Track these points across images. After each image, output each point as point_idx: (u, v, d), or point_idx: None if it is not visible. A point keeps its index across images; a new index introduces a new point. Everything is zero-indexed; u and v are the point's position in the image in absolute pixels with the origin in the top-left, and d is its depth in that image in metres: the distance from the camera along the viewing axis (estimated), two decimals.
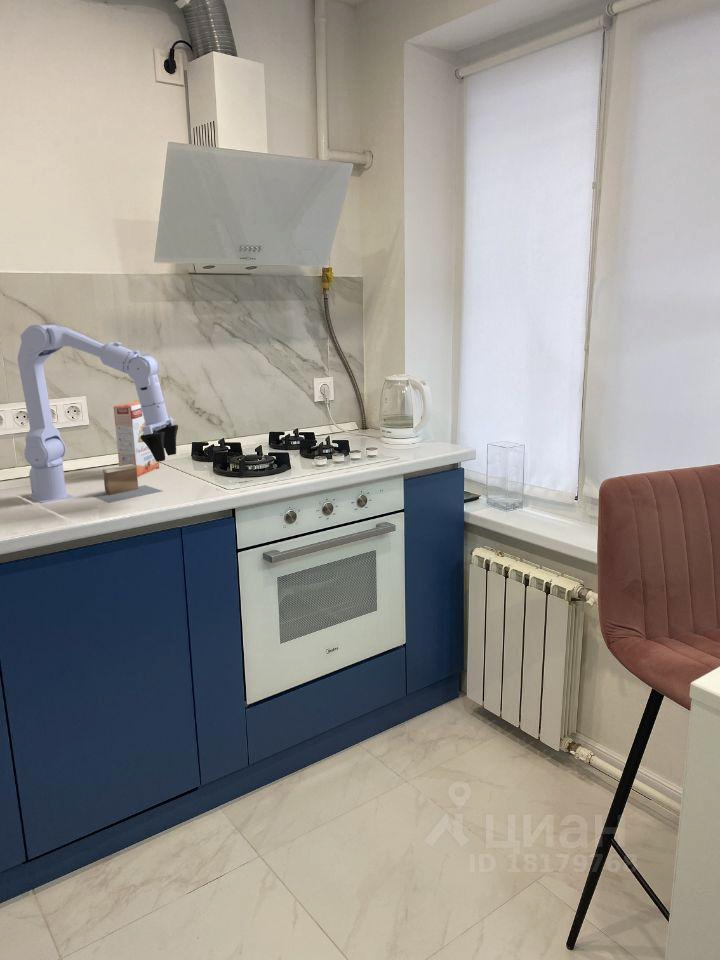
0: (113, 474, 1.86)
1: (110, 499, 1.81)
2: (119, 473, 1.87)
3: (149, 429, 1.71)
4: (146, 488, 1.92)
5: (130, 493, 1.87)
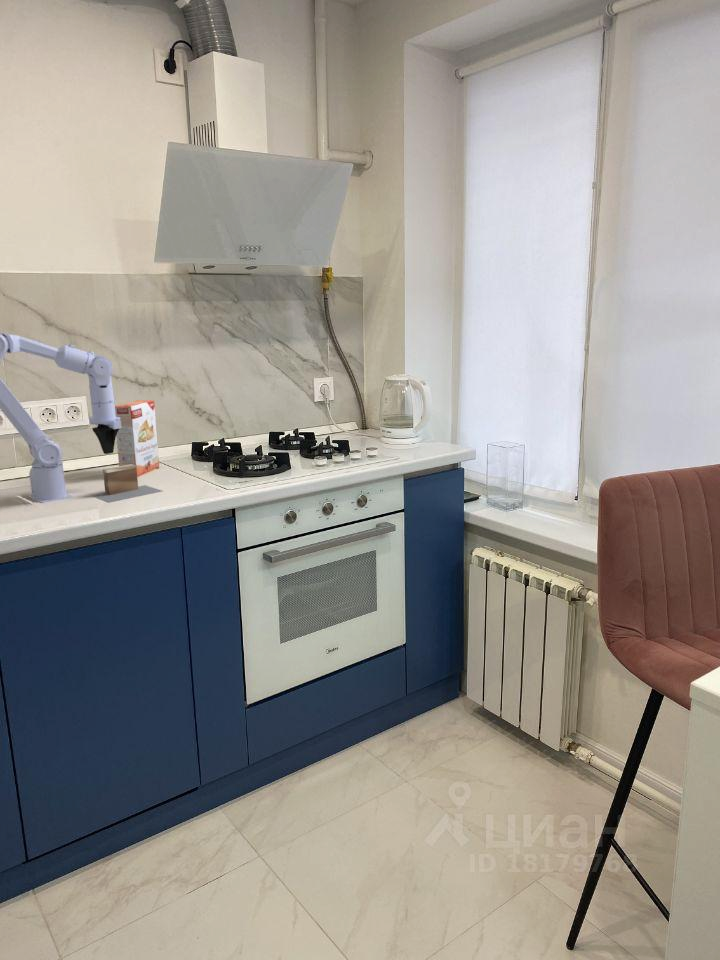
0: (113, 474, 1.86)
1: (110, 499, 1.81)
2: (119, 473, 1.87)
3: (119, 423, 1.84)
4: (146, 488, 1.92)
5: (130, 493, 1.87)
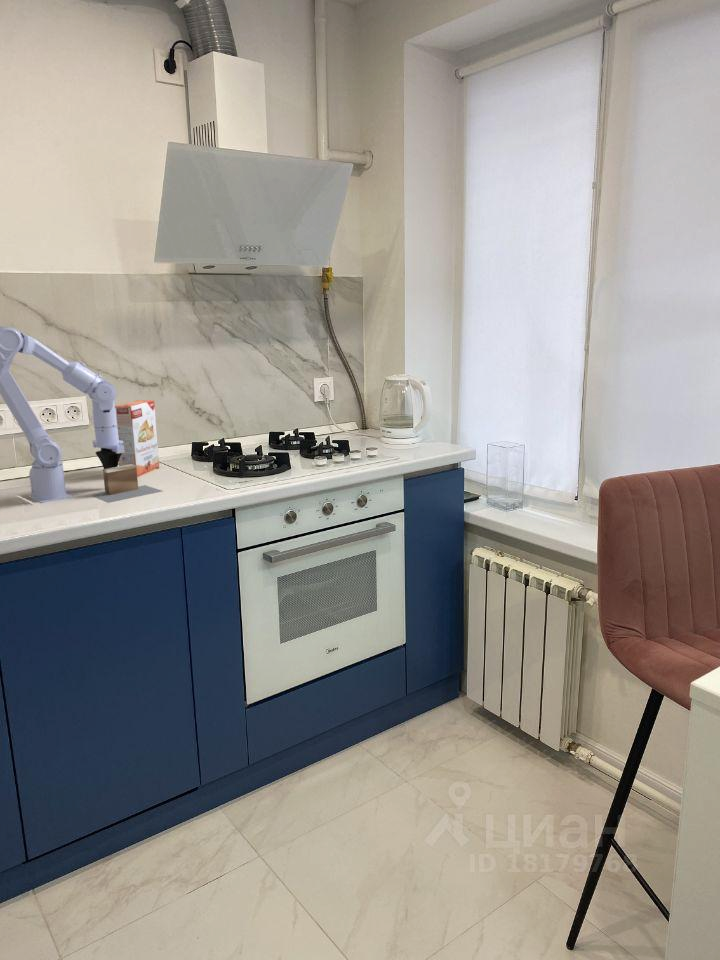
0: (113, 474, 1.86)
1: (110, 499, 1.81)
2: (119, 473, 1.87)
3: (123, 448, 1.86)
4: (146, 488, 1.92)
5: (130, 493, 1.87)
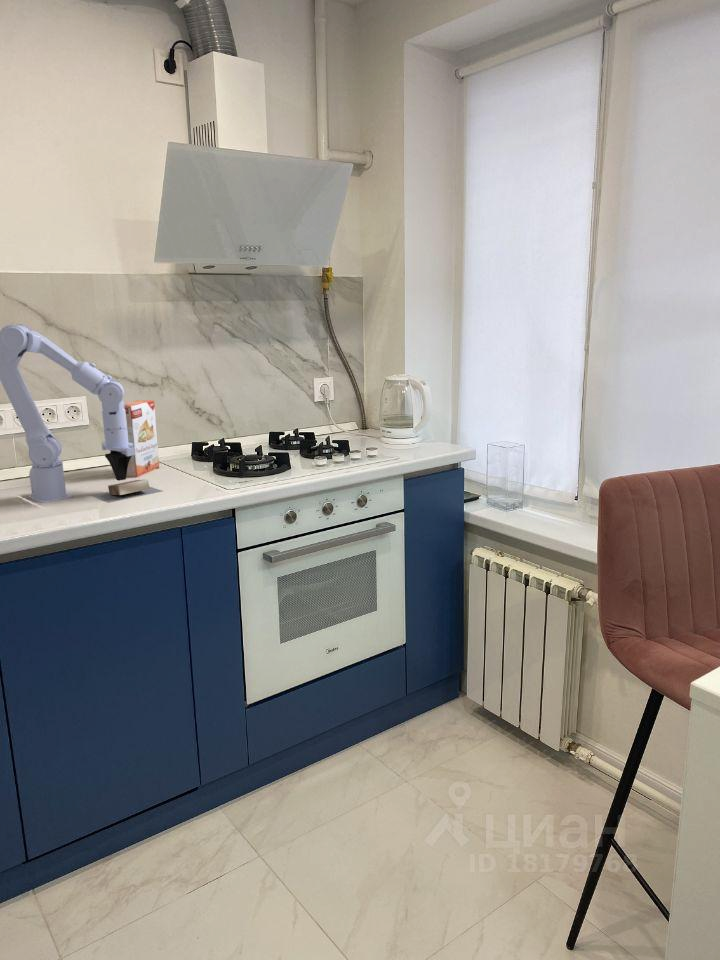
0: None
1: (110, 499, 1.81)
2: None
3: (133, 450, 1.82)
4: None
5: (130, 493, 1.87)
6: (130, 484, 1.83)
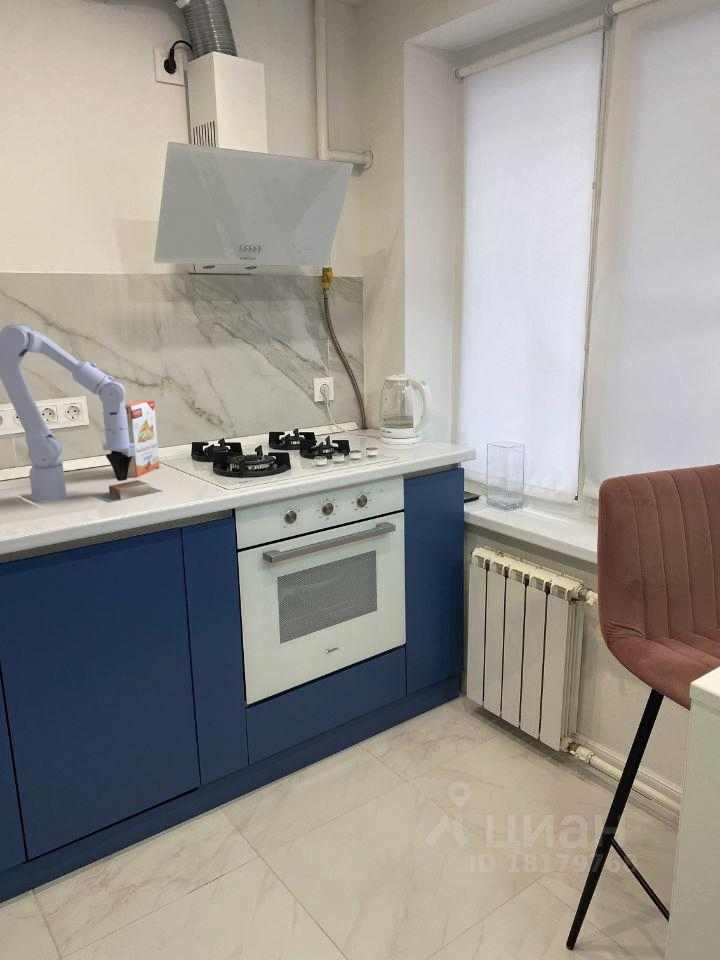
0: None
1: (110, 499, 1.81)
2: None
3: (134, 451, 1.81)
4: None
5: None
6: (131, 489, 1.83)
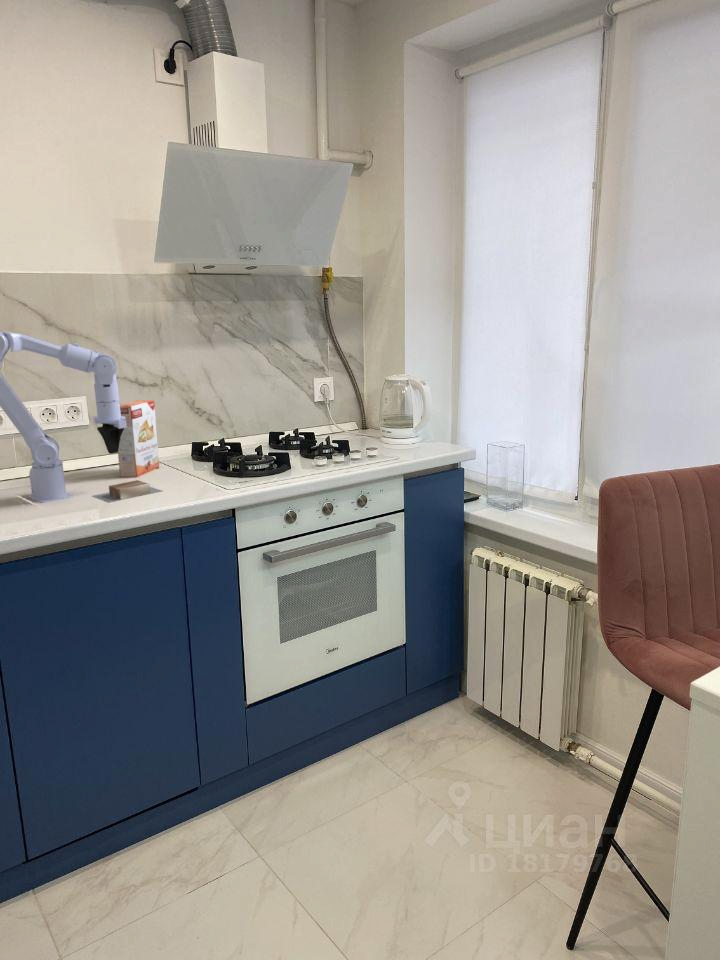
0: None
1: (110, 499, 1.81)
2: None
3: (125, 423, 1.82)
4: None
5: None
6: (131, 489, 1.83)
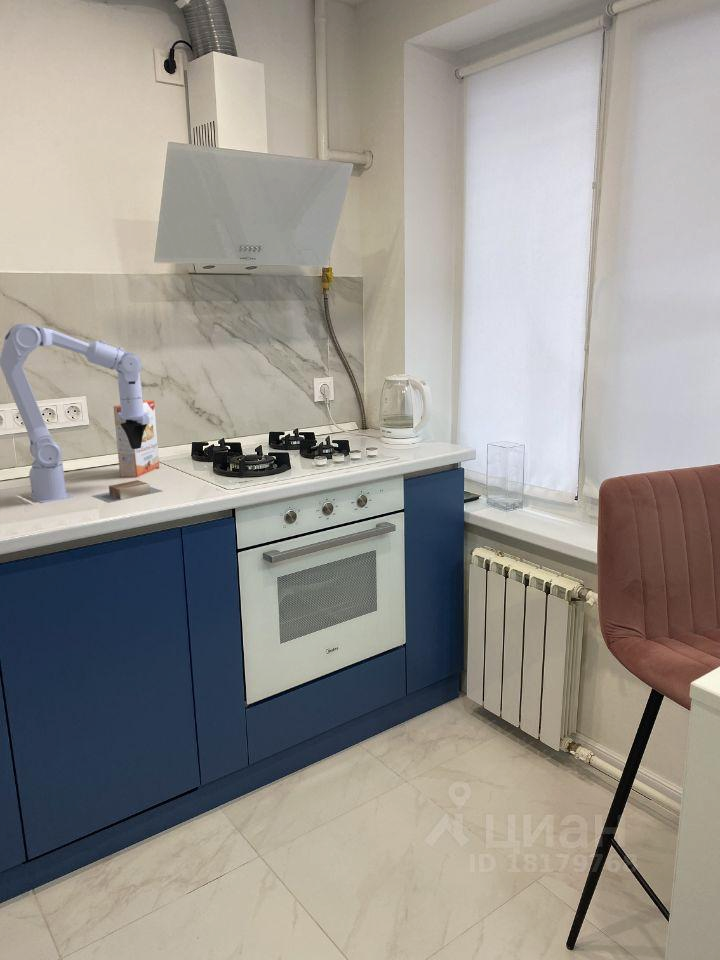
0: None
1: (110, 499, 1.81)
2: None
3: (148, 419, 1.88)
4: None
5: None
6: (131, 489, 1.83)
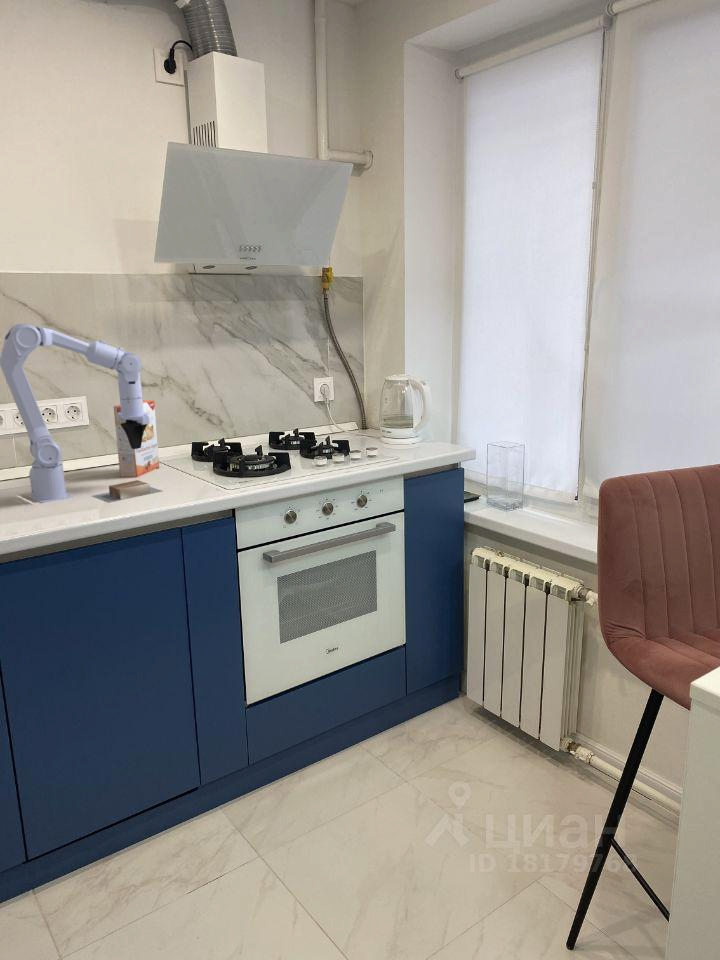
0: None
1: (110, 499, 1.81)
2: None
3: (148, 419, 1.88)
4: None
5: None
6: (131, 489, 1.83)
